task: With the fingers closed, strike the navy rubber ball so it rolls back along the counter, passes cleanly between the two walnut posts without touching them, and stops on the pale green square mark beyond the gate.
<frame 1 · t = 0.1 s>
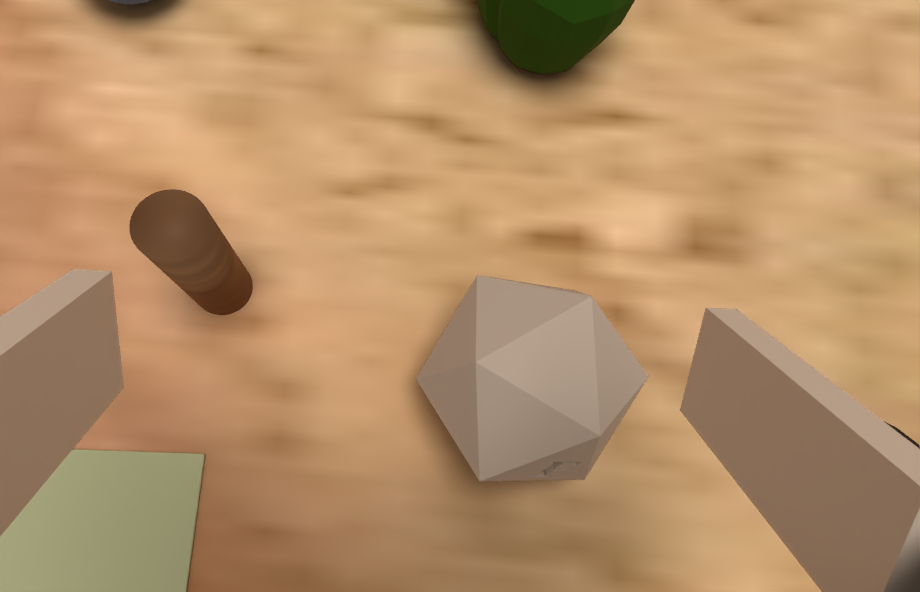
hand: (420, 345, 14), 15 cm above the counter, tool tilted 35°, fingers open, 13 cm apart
die: (510, 388, 30), on the counter
gate post 1: (223, 287, 29), on the counter
bell pepper: (532, 32, 35), on the counter
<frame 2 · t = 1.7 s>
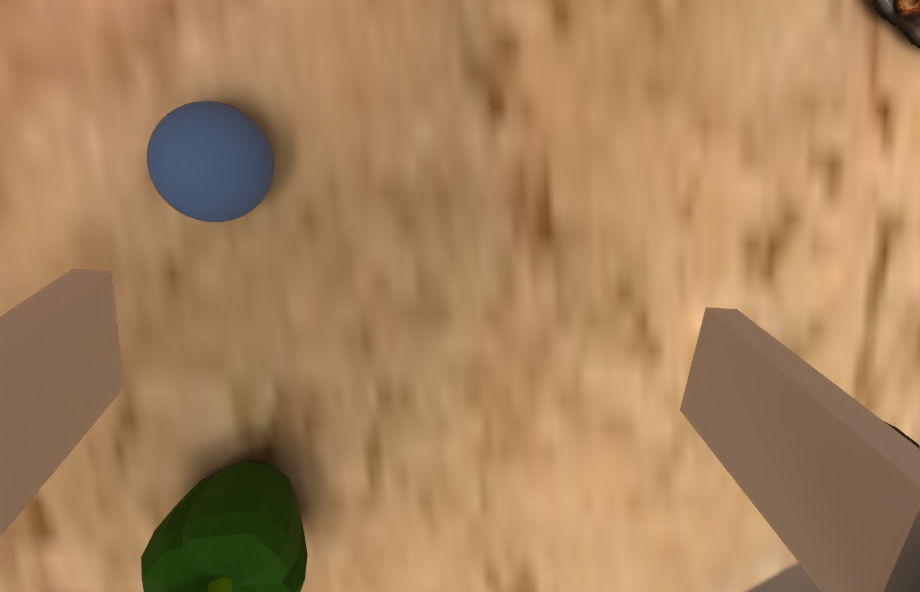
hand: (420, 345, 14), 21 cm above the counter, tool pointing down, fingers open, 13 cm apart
bell pepper: (248, 493, 40), on the counter
ball: (212, 162, 29), on the counter
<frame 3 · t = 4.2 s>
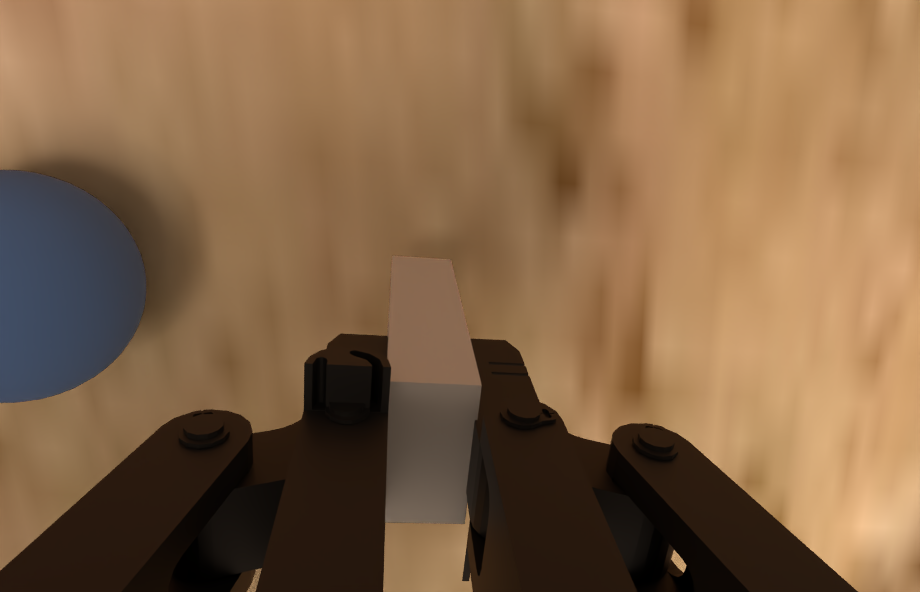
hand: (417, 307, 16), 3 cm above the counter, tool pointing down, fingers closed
ball: (18, 286, 15), on the counter
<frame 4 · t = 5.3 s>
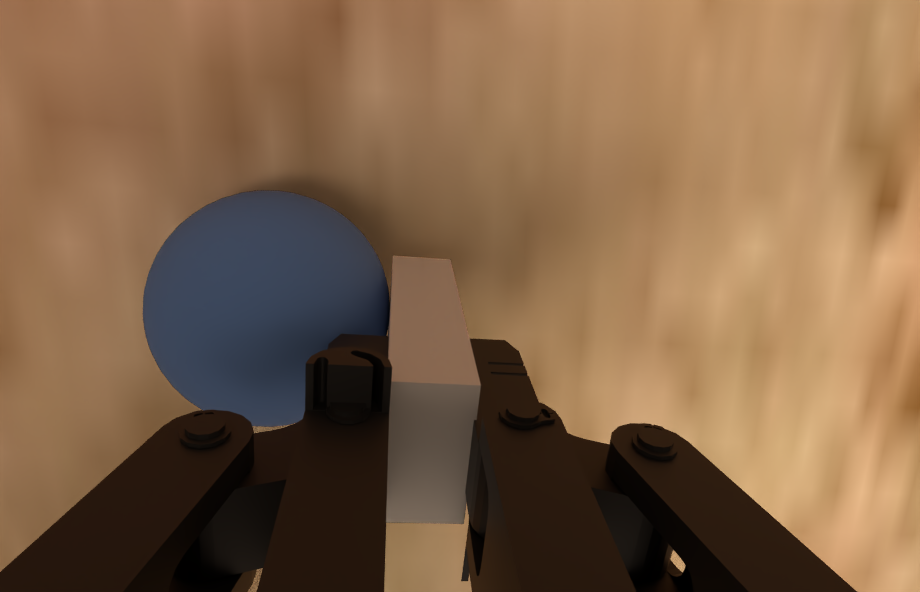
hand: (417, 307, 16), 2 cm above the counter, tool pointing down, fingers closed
ball: (273, 308, 15), on the counter
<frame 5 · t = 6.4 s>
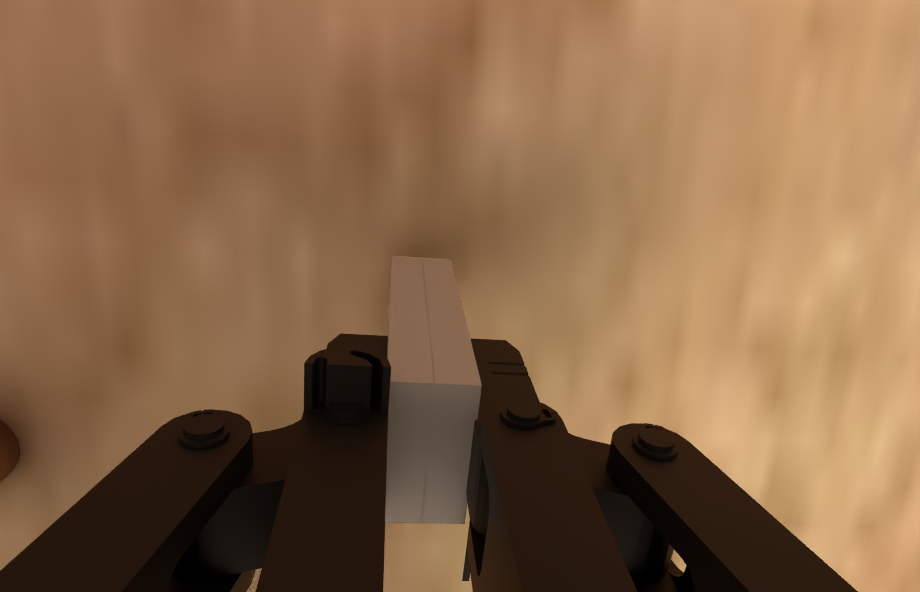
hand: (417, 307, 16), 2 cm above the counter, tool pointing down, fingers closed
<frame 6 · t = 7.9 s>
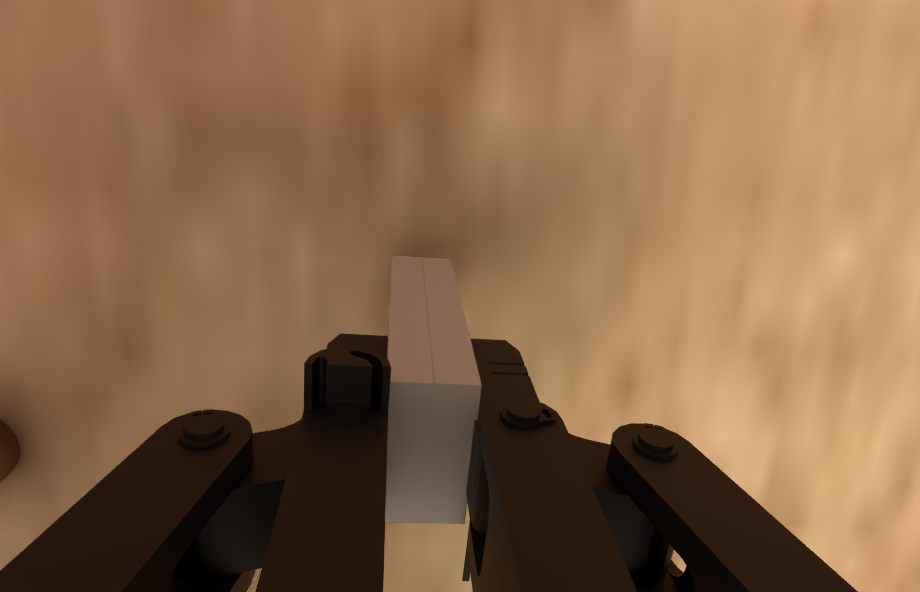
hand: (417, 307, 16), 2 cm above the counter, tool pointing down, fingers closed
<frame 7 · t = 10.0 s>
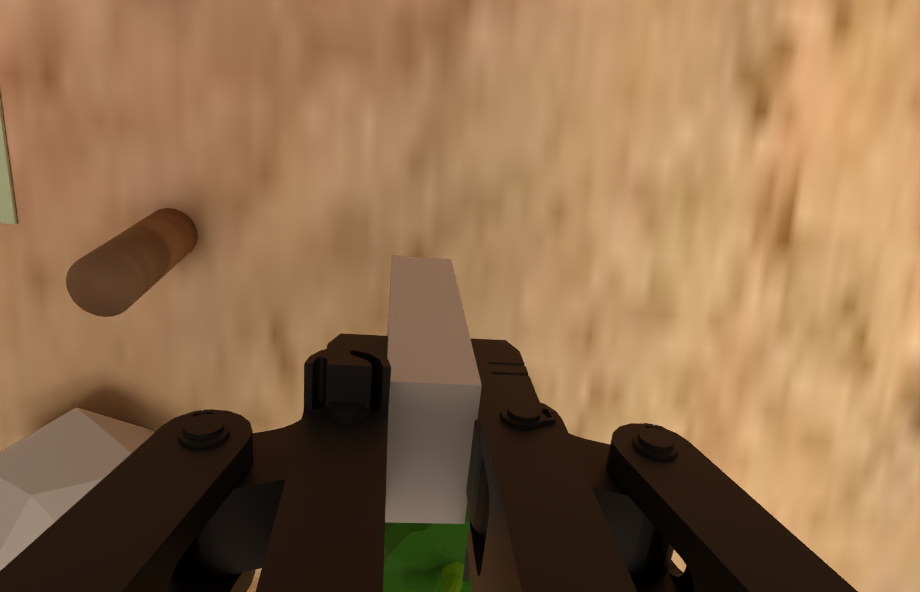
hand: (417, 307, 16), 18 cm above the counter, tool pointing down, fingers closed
die: (113, 448, 37), on the counter
gate post 1: (171, 233, 33), on the counter
bell pepper: (447, 479, 40), on the counter
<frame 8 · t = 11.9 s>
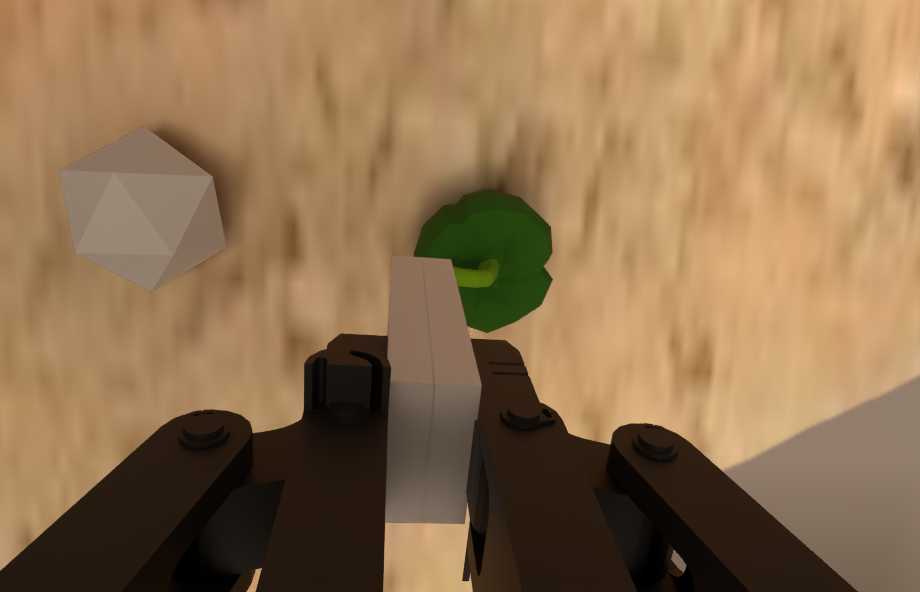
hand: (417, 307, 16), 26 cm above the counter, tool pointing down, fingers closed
die: (171, 196, 41), on the counter
bell pepper: (475, 233, 43), on the counter
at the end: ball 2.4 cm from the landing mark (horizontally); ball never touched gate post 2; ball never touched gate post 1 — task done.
